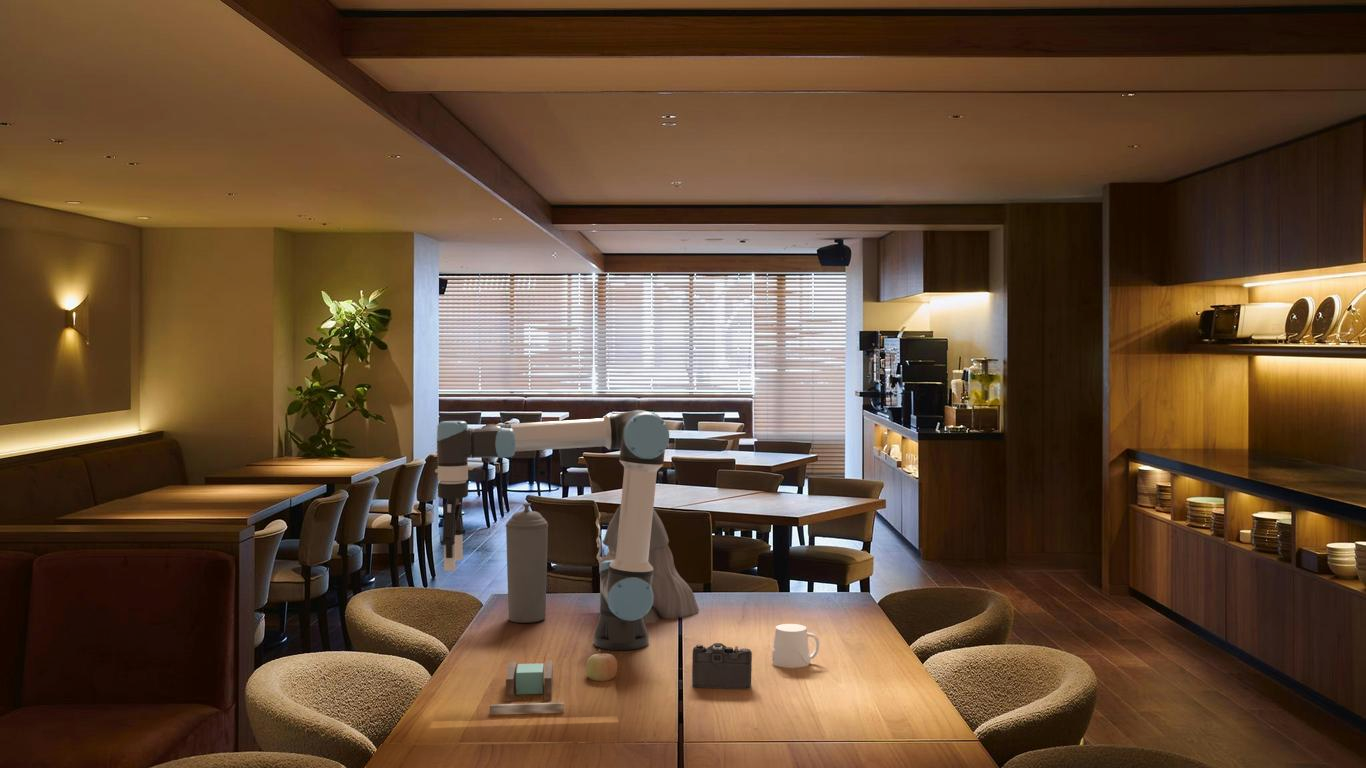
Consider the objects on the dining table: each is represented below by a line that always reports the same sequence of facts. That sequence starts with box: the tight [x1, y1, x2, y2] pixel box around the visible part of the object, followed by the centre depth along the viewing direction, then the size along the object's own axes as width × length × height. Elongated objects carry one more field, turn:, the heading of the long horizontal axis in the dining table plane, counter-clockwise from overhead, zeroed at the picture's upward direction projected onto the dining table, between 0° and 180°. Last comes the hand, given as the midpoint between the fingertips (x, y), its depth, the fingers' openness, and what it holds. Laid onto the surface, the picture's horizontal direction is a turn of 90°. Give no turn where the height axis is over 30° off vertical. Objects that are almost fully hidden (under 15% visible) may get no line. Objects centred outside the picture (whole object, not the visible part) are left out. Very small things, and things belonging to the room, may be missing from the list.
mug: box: [771, 623, 820, 669], centre depth 277 cm, size 12×9×8 cm
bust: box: [595, 504, 700, 625], centre depth 334 cm, size 34×34×35 cm
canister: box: [505, 502, 549, 624], centre depth 321 cm, size 13×13×35 cm
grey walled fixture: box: [489, 660, 565, 720], centre depth 246 cm, size 16×23×6 cm
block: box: [515, 662, 545, 695], centre depth 251 cm, size 6×7×5 cm
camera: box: [691, 642, 753, 690], centre depth 261 cm, size 14×11×10 cm
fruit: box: [585, 648, 618, 682], centre depth 261 cm, size 8×7×8 cm
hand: (453, 565), depth 273 cm, fingers open, 13 cm apart
